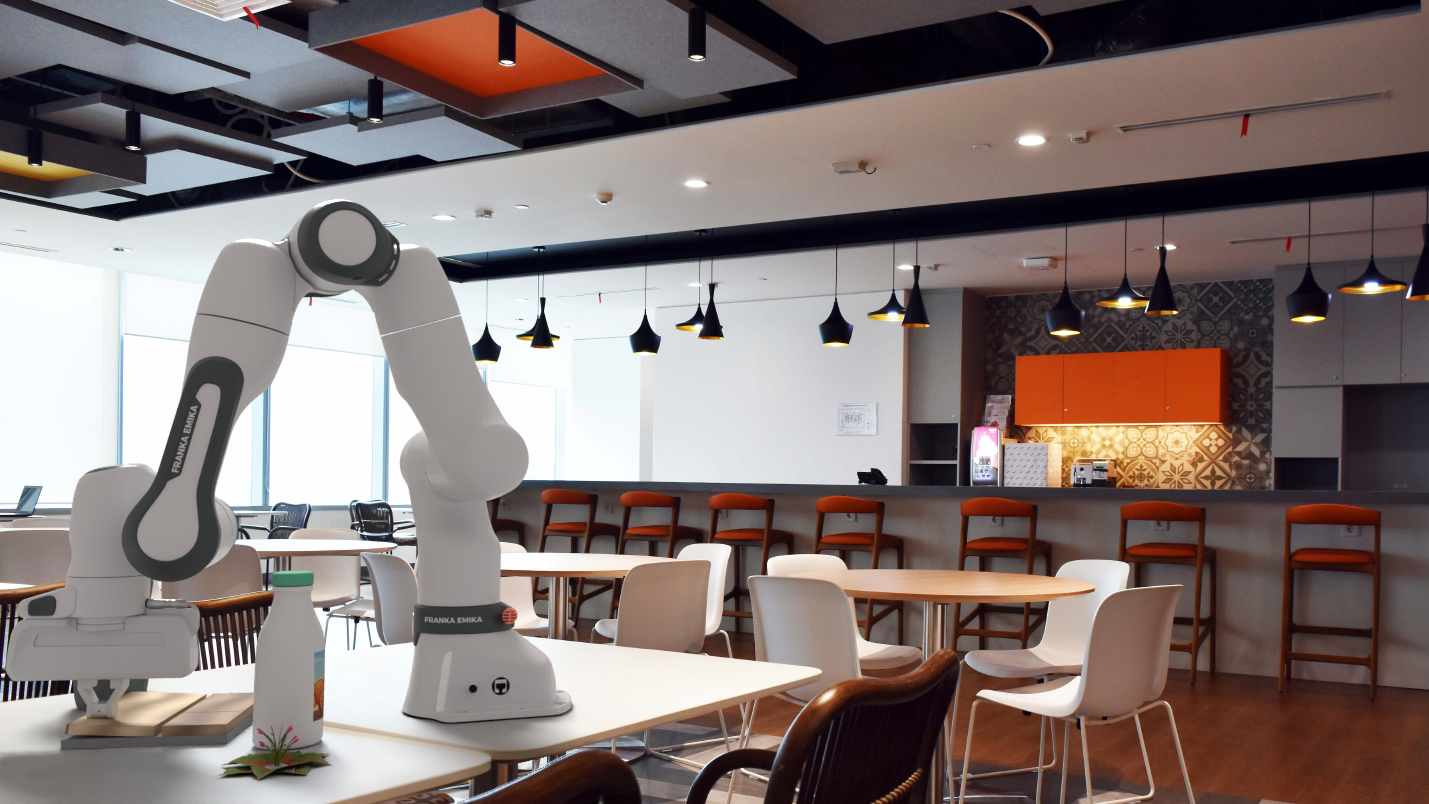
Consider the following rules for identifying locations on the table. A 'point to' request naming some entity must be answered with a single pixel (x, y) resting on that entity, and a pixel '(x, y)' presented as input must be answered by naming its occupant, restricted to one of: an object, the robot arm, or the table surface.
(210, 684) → the table surface
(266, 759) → the green plant with flowers
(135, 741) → the underlay
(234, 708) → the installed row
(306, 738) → the milk bottle
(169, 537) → the robot arm
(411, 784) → the table surface
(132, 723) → the plank
